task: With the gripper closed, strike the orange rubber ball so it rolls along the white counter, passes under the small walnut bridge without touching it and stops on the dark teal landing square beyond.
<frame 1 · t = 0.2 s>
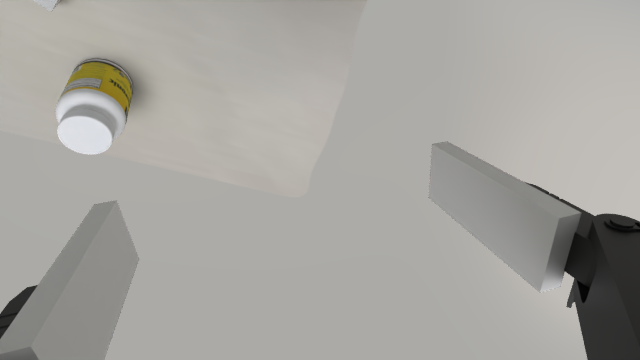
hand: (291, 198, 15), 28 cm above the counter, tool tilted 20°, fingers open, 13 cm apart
supplement bottle: (104, 81, 36), on the counter
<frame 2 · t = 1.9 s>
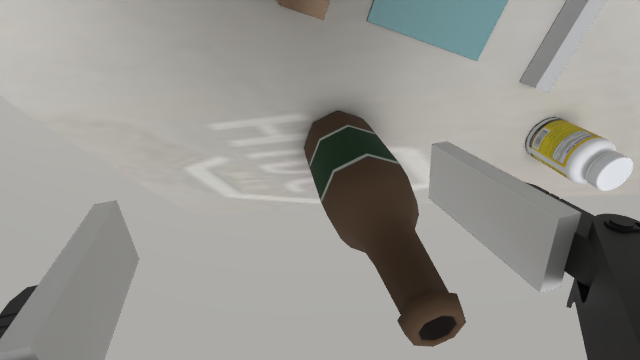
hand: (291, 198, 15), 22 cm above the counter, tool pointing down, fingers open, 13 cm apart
beer bottle: (336, 141, 39), on the counter
supplement bottle: (543, 136, 44), on the counter
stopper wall: (564, 19, 36), on the counter
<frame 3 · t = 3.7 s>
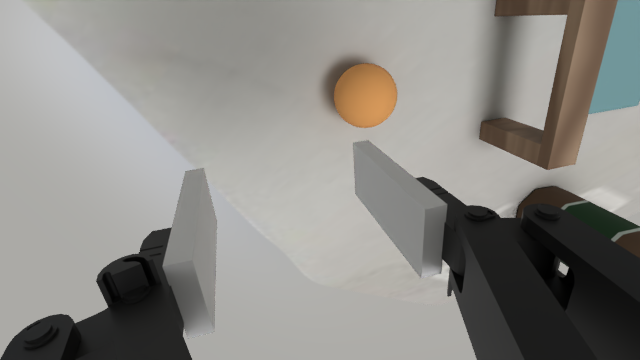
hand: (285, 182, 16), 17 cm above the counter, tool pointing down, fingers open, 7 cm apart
ball: (365, 96, 30), on the counter
beer bottle: (536, 209, 46), on the counter
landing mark: (608, 55, 39), on the counter
bridge: (500, 70, 36), on the counter
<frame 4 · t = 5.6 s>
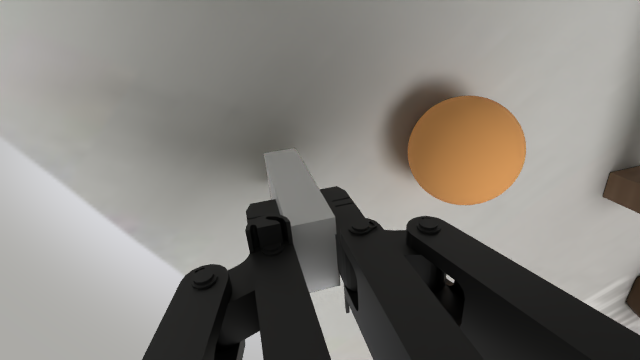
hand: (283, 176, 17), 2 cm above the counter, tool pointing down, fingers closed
ball: (463, 151, 18), on the counter
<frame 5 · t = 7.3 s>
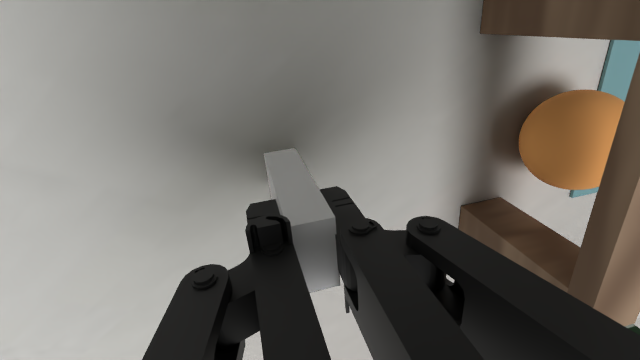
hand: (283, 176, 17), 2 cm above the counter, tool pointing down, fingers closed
ball: (575, 140, 19), on the counter
bridge: (491, 125, 21), on the counter
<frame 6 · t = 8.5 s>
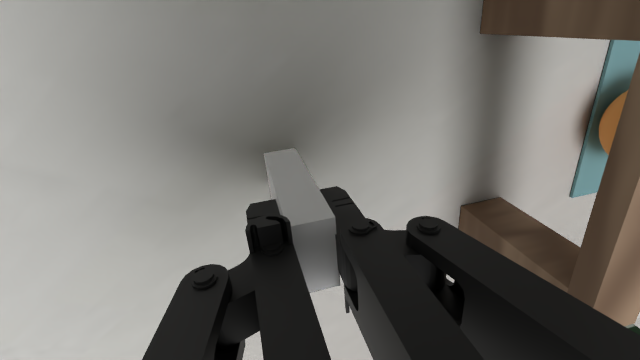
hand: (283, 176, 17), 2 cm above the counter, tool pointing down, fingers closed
bridge: (491, 125, 21), on the counter
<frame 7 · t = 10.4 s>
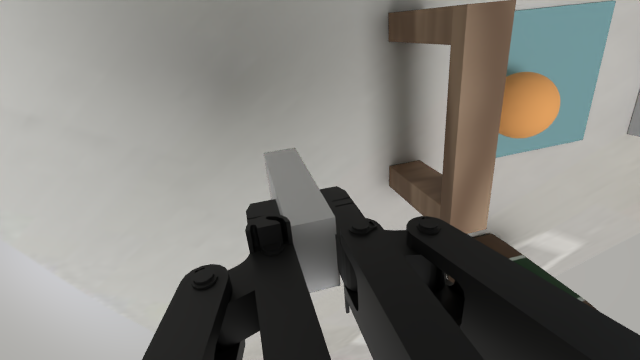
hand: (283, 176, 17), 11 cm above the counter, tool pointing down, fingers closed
ball: (520, 105, 29), on the counter
beer bottle: (473, 260, 39), on the counter
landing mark: (541, 84, 32), on the counter
bridge: (405, 105, 29), on the counter
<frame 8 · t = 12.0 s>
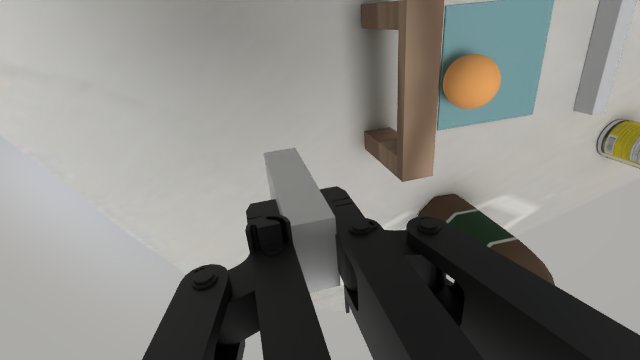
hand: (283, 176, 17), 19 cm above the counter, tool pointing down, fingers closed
ball: (471, 82, 36), on the counter
beer bottle: (440, 217, 46), on the counter
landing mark: (492, 65, 39), on the counter
bridge: (376, 81, 36), on the counter
supplement bottle: (610, 137, 48), on the counter
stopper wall: (594, 51, 42), on the counter
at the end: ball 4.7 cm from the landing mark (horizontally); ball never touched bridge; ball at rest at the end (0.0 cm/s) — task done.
